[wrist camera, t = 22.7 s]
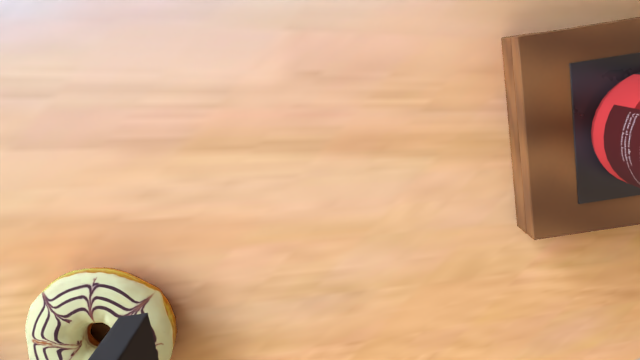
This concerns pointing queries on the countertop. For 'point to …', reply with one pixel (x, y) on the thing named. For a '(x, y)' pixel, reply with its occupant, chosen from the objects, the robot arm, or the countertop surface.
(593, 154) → the wooden picture frame
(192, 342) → the countertop surface
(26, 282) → the countertop surface
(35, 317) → the decorated donut
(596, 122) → the canned food
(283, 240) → the countertop surface
